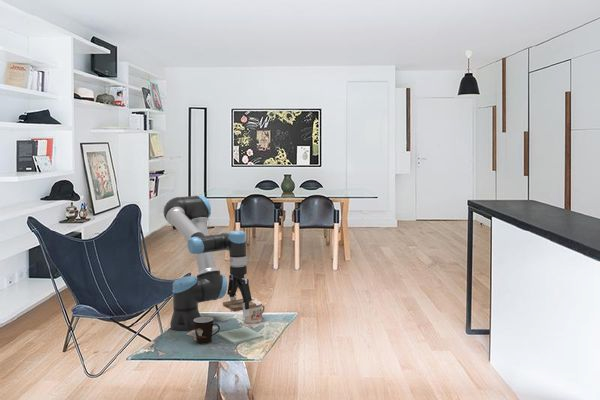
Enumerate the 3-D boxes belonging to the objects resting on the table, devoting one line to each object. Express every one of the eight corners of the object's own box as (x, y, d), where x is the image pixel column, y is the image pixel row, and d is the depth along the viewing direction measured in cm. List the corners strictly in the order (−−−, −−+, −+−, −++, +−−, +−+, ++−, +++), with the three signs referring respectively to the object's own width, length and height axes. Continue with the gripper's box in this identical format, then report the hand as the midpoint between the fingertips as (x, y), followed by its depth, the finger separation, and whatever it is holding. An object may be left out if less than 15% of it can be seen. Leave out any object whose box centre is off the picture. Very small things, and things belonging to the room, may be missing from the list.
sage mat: (217, 335, 268) (217, 333, 268) (246, 328, 277) (245, 326, 276) (234, 344, 255) (234, 342, 255) (263, 337, 263) (263, 335, 263)
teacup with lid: (252, 325, 282) (251, 301, 281) (240, 321, 289) (239, 298, 288) (270, 319, 291) (270, 296, 290) (258, 316, 297) (258, 293, 296)
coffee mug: (190, 341, 260) (189, 319, 259) (207, 337, 266) (206, 315, 265) (205, 348, 251) (204, 325, 250) (221, 343, 257) (221, 320, 256)
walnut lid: (222, 305, 266) (222, 302, 266) (244, 301, 272) (244, 298, 272) (234, 311, 257) (234, 308, 257) (256, 307, 263) (256, 303, 263)
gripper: (218, 262, 270) (220, 309, 272) (243, 270, 251) (245, 320, 253) (233, 260, 275) (234, 306, 276) (258, 268, 255) (260, 317, 257)
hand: (239, 313), depth 265 cm, fingers closed on walnut lid, 11 cm apart
